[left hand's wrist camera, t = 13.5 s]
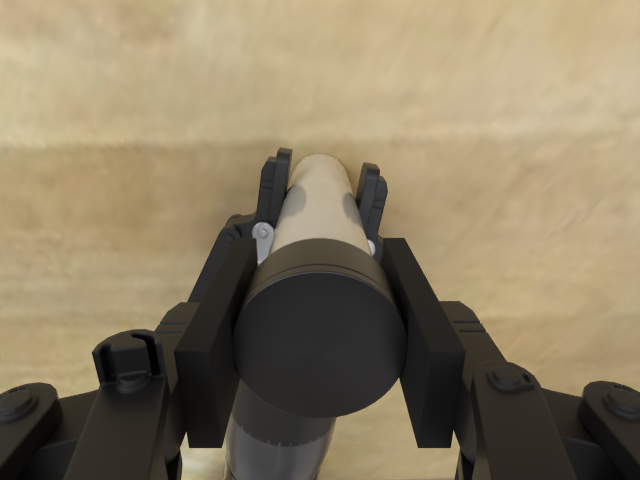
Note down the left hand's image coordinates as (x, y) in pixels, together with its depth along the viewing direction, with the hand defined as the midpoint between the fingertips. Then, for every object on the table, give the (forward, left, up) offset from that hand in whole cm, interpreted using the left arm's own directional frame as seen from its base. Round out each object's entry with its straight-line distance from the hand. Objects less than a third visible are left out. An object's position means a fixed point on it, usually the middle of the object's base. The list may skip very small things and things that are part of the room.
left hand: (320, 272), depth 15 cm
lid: (0, 0, +4) cm, 4 cm away
